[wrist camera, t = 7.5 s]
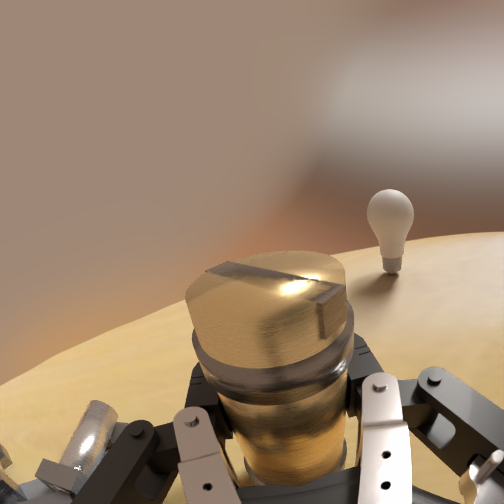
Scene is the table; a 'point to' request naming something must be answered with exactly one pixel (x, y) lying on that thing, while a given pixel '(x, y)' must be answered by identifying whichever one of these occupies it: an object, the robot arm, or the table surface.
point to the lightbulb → (390, 225)
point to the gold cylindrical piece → (278, 359)
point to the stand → (44, 493)
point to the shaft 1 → (8, 482)
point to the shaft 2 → (83, 449)
